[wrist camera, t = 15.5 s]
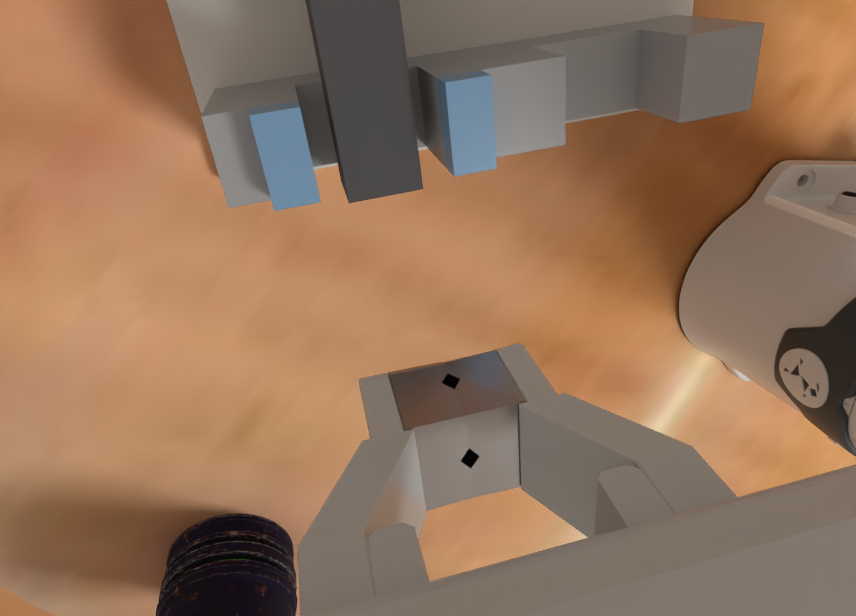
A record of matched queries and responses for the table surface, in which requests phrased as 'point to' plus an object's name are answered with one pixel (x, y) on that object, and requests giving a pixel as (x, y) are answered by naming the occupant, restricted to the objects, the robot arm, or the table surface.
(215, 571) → the black ribbed barrel
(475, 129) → the grey slotted fixture rack
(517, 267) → the table surface
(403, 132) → the dark square rod
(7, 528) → the table surface
